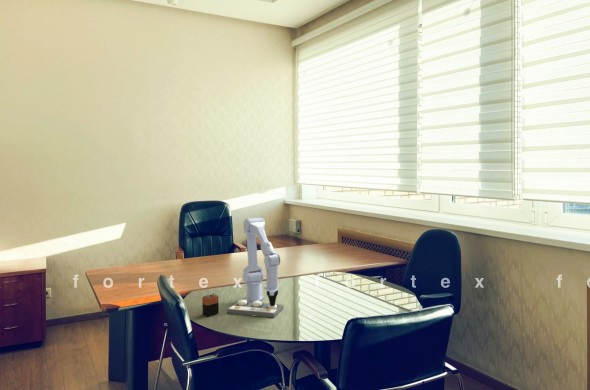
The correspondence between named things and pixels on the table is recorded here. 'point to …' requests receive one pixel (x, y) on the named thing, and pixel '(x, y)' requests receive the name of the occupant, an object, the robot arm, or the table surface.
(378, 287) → the table surface
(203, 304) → the battery
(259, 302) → the button
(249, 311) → the button board
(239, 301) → the button
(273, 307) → the button
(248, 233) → the robot arm
